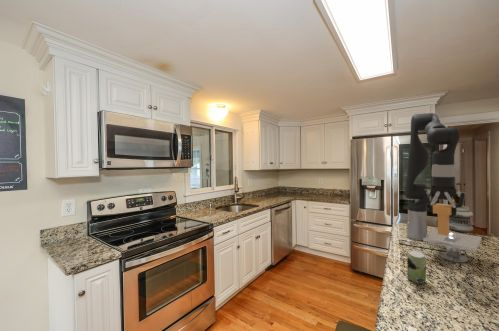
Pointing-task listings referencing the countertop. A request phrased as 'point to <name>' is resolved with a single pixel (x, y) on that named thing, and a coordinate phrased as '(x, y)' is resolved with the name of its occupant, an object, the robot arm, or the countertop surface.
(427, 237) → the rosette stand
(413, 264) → the beverage can
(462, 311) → the countertop surface
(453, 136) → the robot arm
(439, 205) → the orange block
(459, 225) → the apothecary jar
